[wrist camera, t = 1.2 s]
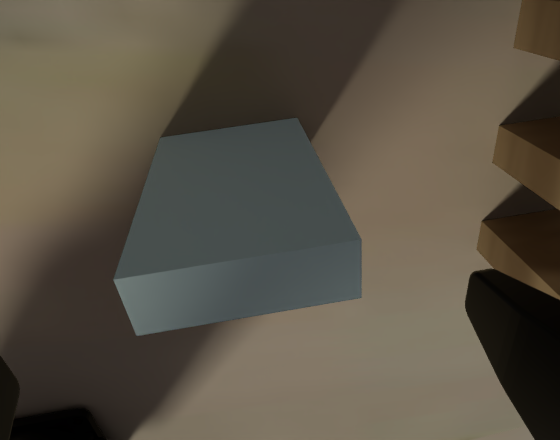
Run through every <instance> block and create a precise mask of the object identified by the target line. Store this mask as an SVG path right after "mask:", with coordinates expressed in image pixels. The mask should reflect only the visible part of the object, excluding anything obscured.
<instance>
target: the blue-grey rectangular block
mask: <svg viewBox="0 0 560 440" xmlns="http://www.w3.org/2000/svg"><path fill="white" fill-rule="evenodd" d="M113 280H114V283H115V285H116V287H117V290H118V292H119V295H120V297H121V300H122V302H123V304H124V307H125V309H126V312H127V314H128V316H129V319H130V321H131V324H132V326H133V328H134V331H135V333H136V336H141V335H146V334H152V333H158V332H164V331H170V330H176V329H182V328H188V327H193V326H199V325H205V324H211V323H217V322H223V321H229V320H234V319H240V318H246V317H252V316H258V315H264V314H270V313H276V312H281V311H287V310H293V309H299V308H305V307H311V306H317V305H323V304H328V303H334V302H340V301H346V300H352V299H358V298H361V238H360V236H359V234H358V232H357V230H356V228H355V226H354V224H353V222H352V221H351V219H350V217H349V215H348V213H347V211H346V209H345V207H344V205H343V203H342V202H341V200H340V198H339V196H338V194H337V192H336V190H335V188H334V186H333V185H332V183H331V181H330V179H329V177H328V175H327V173H326V171H325V169H324V167H323V166H322V164H321V162H320V160H319V158H318V156H317V154H316V152H315V150H314V149H313V147H312V145H311V143H310V141H309V139H308V137H307V135H306V133H305V131H304V130H303V128H302V126H301V124H300V122H299V120H298V118H291V119H284V120H277V121H270V122H263V123H257V124H250V125H243V126H236V127H229V128H222V129H215V130H208V131H201V132H195V133H188V134H181V135H174V136H167V137H160V140H159V143H158V146H157V149H156V152H155V155H154V158H153V161H152V164H151V167H150V170H149V173H148V176H147V179H146V182H145V185H144V188H143V191H142V194H141V197H140V200H139V204H138V207H137V210H136V213H135V216H134V219H133V222H132V225H131V228H130V231H129V234H128V237H127V240H126V243H125V246H124V249H123V252H122V255H121V258H120V261H119V264H118V267H117V270H116V273H115V276H114V279H113Z"/></svg>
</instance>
